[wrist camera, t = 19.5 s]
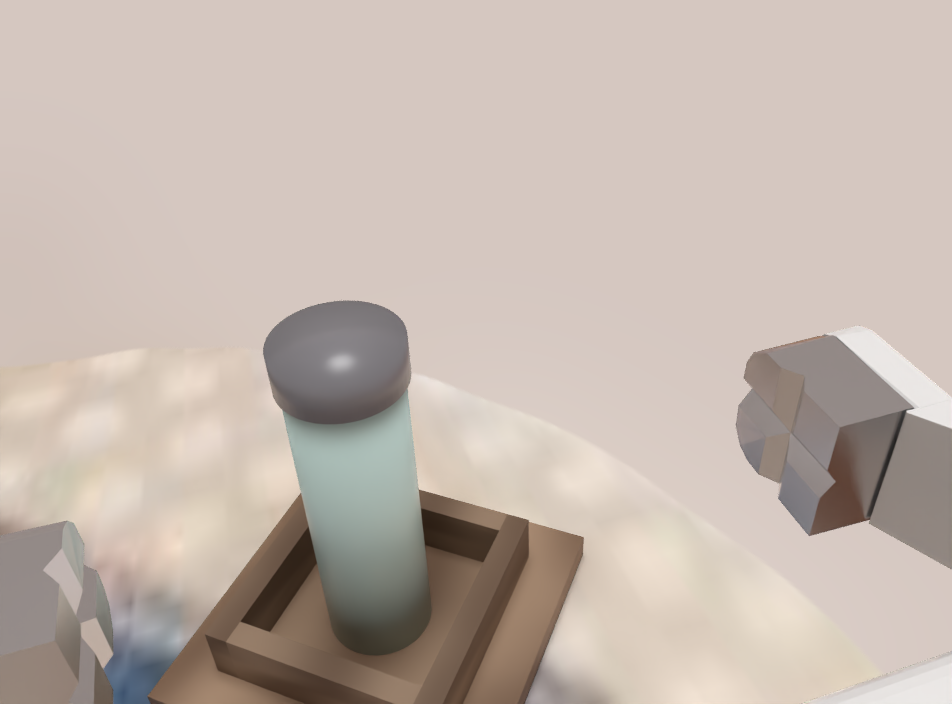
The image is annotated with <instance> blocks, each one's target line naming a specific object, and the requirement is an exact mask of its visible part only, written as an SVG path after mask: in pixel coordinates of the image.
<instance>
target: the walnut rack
mask: <svg viewBox="0 0 952 704" xmlns="http://www.w3.org/2000/svg"><path fill="white" fill-rule="evenodd" d="M419 497H420V506H421V515H422V524H423V533H424V542H425V551H426V560H427V569H428V578H429V587H430V596H431V606H432V611H431V617H430V620H429V623H428V625H427V627H426V629H425V630H424V632H423V633H422V634H421V635H420V637H419V638H418V639H416V640H415V641H414V642H413V643H412V644H410V645H409V646H407V647H405V648H404V649H401V650H399V651H397V652H394V653H390V654H385V655H365V654H361V653H357V652H355V651H352V650H350V649H349V648H347V647H345V646H344V645H343V644H342V643H341V642H340V641H339V640H338V639H337V637H336V636H335V634H334V632H333V630H332V627H331V623H330V618H329V614H328V610H327V605H326V601H325V596H324V592H323V587H322V583H321V579H320V574H319V570H318V565H317V561H316V556H315V552H314V548H313V543H312V539H311V534H310V530H309V526H308V521H307V517H306V512H305V508H304V503H303V499H302V495H301V493H300V495H299V496H298V497H297V499H296V500H295V501H294V503H293V504H292V505H291V507H290V508H289V509H288V511H287V512H286V513H285V515H284V516H283V517H282V519H281V520H280V521H279V523H278V524H277V525H276V527H275V528H274V529H273V531H272V532H271V533H270V535H269V536H268V537H267V539H266V540H265V541H264V542H263V544H262V545H261V546H260V548H259V549H258V550H257V552H256V553H255V554H254V556H253V557H252V558H251V560H250V561H249V562H248V564H247V565H246V566H245V568H244V569H243V570H242V572H241V573H240V574H239V576H238V577H237V578H236V580H235V581H234V582H233V584H232V585H231V586H230V588H229V589H228V590H227V592H226V593H225V594H224V596H223V597H222V598H221V600H220V601H219V602H218V604H217V605H216V606H215V607H214V609H213V610H212V611H211V613H210V614H209V615H208V617H207V618H206V619H205V621H204V622H203V623H202V625H201V626H200V627H199V629H198V630H197V631H196V633H195V634H194V635H193V637H192V638H191V639H190V641H189V642H188V643H187V645H186V646H185V647H184V649H183V650H182V651H181V653H180V654H179V655H178V657H177V658H176V659H175V661H174V662H173V663H172V665H171V666H170V667H169V669H168V670H167V671H166V672H165V674H164V675H163V676H162V678H161V679H160V680H159V682H158V683H157V684H156V686H155V687H154V688H153V690H152V691H151V692H150V694H149V695H148V696H147V697H148V699H149V701H150V703H151V704H524V703H525V700H526V698H527V695H528V693H529V690H530V687H531V685H532V682H533V680H534V677H535V675H536V672H537V670H538V667H539V665H540V662H541V659H542V657H543V654H544V652H545V649H546V647H547V644H548V642H549V639H550V636H551V634H552V631H553V629H554V626H555V624H556V621H557V619H558V616H559V613H560V611H561V608H562V606H563V603H564V601H565V598H566V596H567V593H568V591H569V588H570V585H571V583H572V580H573V578H574V575H575V573H576V570H577V568H578V565H579V562H580V560H581V557H582V555H583V540H584V537H581V536H577V535H574V534H570V533H566V532H563V531H559V530H556V529H552V528H548V527H545V526H541V525H538V524H534V523H530V522H529V520H526V519H523V518H519V517H515V516H512V515H508V514H505V513H501V512H497V511H494V510H490V509H487V508H483V507H479V506H476V505H472V504H469V503H465V502H461V501H458V500H454V499H451V498H447V497H443V496H440V495H436V494H433V493H429V492H425V491H422V490H419Z"/></svg>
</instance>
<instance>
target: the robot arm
mask: <svg viewBox="0 0 952 704" xmlns="http://www.w3.org/2000/svg"><path fill="white" fill-rule="evenodd" d="M744 379H745V381H746V382H747V383H748V384H749V386H750V387H751V388H752V389H751V391H750V392H749V393H748V394H747V396H746V397H745V398H744V399H743V401H742V402H741V403H740V404H739V407H738V414H737V422H736V428H737V433H738V438H739V442H740V446H741V448H742V450H743V452H744V454H745V456H746V458H747V460H748V462H749V463H750V464H751V465H752V467H753V468H754V469H755V471H756V472H757V473H758V474H759V475H761V476H764V477H766V478H768V479H771V480H773V481H775V482H777V483H779V494H778V495H779V496H778V499H779V500H780V501H781V503H782V504H783V505H784V506H785V507H786V509H787V510H788V511H789V512H790V513H791V515H792V516H793V517H794V518H795V520H796V521H797V522H798V523H799V524H800V526H801V527H802V528H803V529H804V530H805V532H806V533H807V534H808V535H809V536H811V535H815V534H819V533H822V532H826V531H830V530H834V529H837V528H841V527H845V526H849V525H852V524H856V523H860V522H863V521H867V520H870V521H869V524H871V525H873V526H874V527H876V528H878V529H880V530H882V531H883V532H885V533H887V534H889V535H891V536H893V537H894V538H896V539H898V540H900V541H901V542H903V543H905V544H907V545H909V546H910V547H912V548H914V549H916V550H918V551H920V552H922V553H923V554H925V555H927V556H928V557H930V558H932V559H934V560H936V561H938V562H939V563H941V564H943V565H945V566H947V567H948V568H950V569H952V397H951V396H949V395H948V394H947V393H946V392H945V391H943V390H942V389H941V388H940V387H939V386H938V385H936V384H935V383H934V382H933V381H932V380H931V379H929V378H928V377H927V376H926V375H925V374H923V373H922V372H921V371H920V370H919V369H917V368H916V367H915V366H914V365H913V364H911V363H910V362H909V361H908V360H907V359H906V358H904V357H903V356H902V355H901V354H900V353H898V352H897V351H896V350H895V349H894V348H892V347H891V346H890V345H889V344H888V343H887V342H885V341H884V340H883V339H882V338H881V337H879V336H878V335H877V334H876V333H875V332H873V331H872V330H871V329H869V328H866V327H863V326H860V325H858V326H854V327H850V328H846V329H842V330H839V331H835V332H831V333H828V334H824V335H823V336H817V337H813V338H809V339H805V340H801V341H797V342H794V343H790V344H785V345H781V346H778V347H774V348H770V349H766V350H762V351H758V352H754V353H753V354H752V356H751V357H750V359H749V360H748V362H747V364H746V370H745V374H744ZM112 655H113V628H112V621H111V614H110V608H109V603H108V600H107V596H106V593H105V590H104V586H103V584H102V582H101V579H100V577H99V575H98V573H97V571H96V570H94V569H91V568H89V567H87V566H85V565H84V542H83V540H82V538H81V536H80V534H79V533H78V531H77V529H76V527H75V525H74V523H72V522H69V521H64V522H59V523H55V524H50V525H46V526H41V527H37V528H32V529H28V530H23V531H19V532H14V533H10V534H5V535H1V536H0V704H113V689H112V687H111V685H110V683H109V681H108V679H107V676H106V674H105V672H104V670H103V668H104V667H105V665H106V664H107V662H108V661H109V660H110V658H111V657H112ZM801 704H952V651H951V652H948V653H945V654H942V655H939V656H936V657H933V658H930V659H928V660H925V661H922V662H919V663H916V664H913V665H910V666H908V667H905V668H902V669H899V670H896V671H893V672H890V673H887V674H885V675H882V676H879V677H876V678H873V679H870V680H867V681H864V682H862V683H859V684H856V685H853V686H850V687H847V688H844V689H841V690H839V691H836V692H833V693H830V694H827V695H824V696H821V697H818V698H816V699H813V700H810V701H807V702H804V703H801Z"/></svg>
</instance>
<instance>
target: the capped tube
mask: <svg viewBox="0 0 952 704" xmlns="http://www.w3.org/2000/svg"><path fill="white" fill-rule="evenodd" d="M263 354H264V359H265V363H266V367H267V372H268V376H269V380H270V385H271V389H272V393H273V397H274V399H275V401H276V403H277V404H278V406H279V407H280V408H281V409H282V410H283V415H284V419H285V424H286V428H287V433H288V437H289V441H290V446H291V450H292V455H293V459H294V464H295V468H296V472H297V477H298V481H299V486H300V490H301V495H302V499H303V503H304V508H305V512H306V517H307V521H308V526H309V530H310V534H311V539H312V543H313V548H314V552H315V556H316V561H317V565H318V570H319V574H320V579H321V583H322V587H323V592H324V596H325V601H326V605H327V610H328V614H329V618H330V623H331V627H332V630H333V632H334V634H335V636H336V637H337V639H338V640H339V641H340V642H341V643H342V644H343V645H344V646H345V647H347V648H349V649H350V650H352V651H355V652H357V653H361V654H365V655H385V654H390V653H394V652H397V651H399V650H401V649H404V648H405V647H407V646H409V645H410V644H412V643H413V642H414V641H415V640H416V639H418V638H419V637H420V635H421V634H422V633H423V632H424V630H425V629H426V627H427V625H428V623H429V620H430V617H431V611H432V606H431V596H430V587H429V578H428V569H427V560H426V551H425V542H424V533H423V524H422V515H421V506H420V497H419V488H418V479H417V471H416V462H415V453H414V444H413V435H412V426H411V417H410V408H409V399H408V390H407V388H408V385H409V383H410V379H411V365H410V355H409V347H408V336H407V330H406V327H405V325H404V323H403V321H402V320H401V319H400V318H399V317H398V316H397V315H396V314H394V313H393V312H392V311H390V310H388V309H386V308H384V307H382V306H379V305H376V304H372V303H368V302H362V301H334V302H327V303H323V304H318V305H314V306H311V307H308V308H305V309H302V310H300V311H298V312H296V313H294V314H292V315H290V316H288V317H287V318H285V319H284V320H283V321H281V322H280V323H279V324H278V325H276V326H275V327H274V329H273V330H272V331H271V332H270V333H269V335H268V337H267V338H266V341H265V344H264V348H263Z"/></svg>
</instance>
